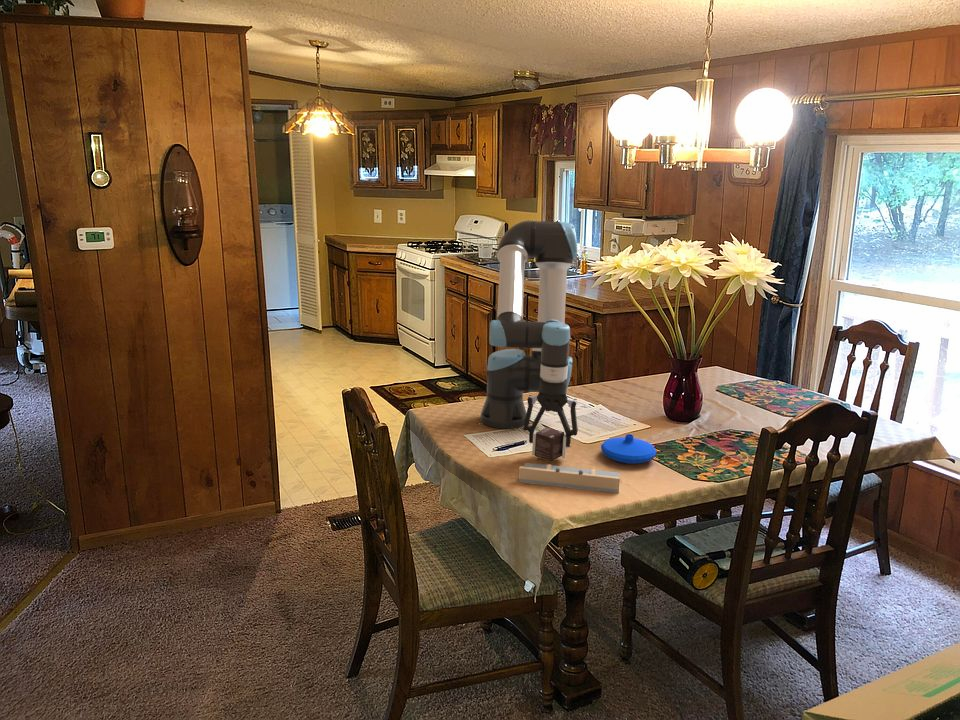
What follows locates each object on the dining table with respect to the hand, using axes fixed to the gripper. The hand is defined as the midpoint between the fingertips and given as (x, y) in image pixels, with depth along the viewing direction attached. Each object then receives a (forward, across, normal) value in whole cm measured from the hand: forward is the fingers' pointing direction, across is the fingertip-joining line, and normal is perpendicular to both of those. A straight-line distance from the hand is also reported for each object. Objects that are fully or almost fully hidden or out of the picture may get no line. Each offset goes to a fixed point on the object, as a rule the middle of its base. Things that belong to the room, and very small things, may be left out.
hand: (548, 454), depth 213 cm
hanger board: (+1, +7, -12) cm, 14 cm away
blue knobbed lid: (+2, +22, +7) cm, 23 cm away
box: (+1, 0, 0) cm, 1 cm away
